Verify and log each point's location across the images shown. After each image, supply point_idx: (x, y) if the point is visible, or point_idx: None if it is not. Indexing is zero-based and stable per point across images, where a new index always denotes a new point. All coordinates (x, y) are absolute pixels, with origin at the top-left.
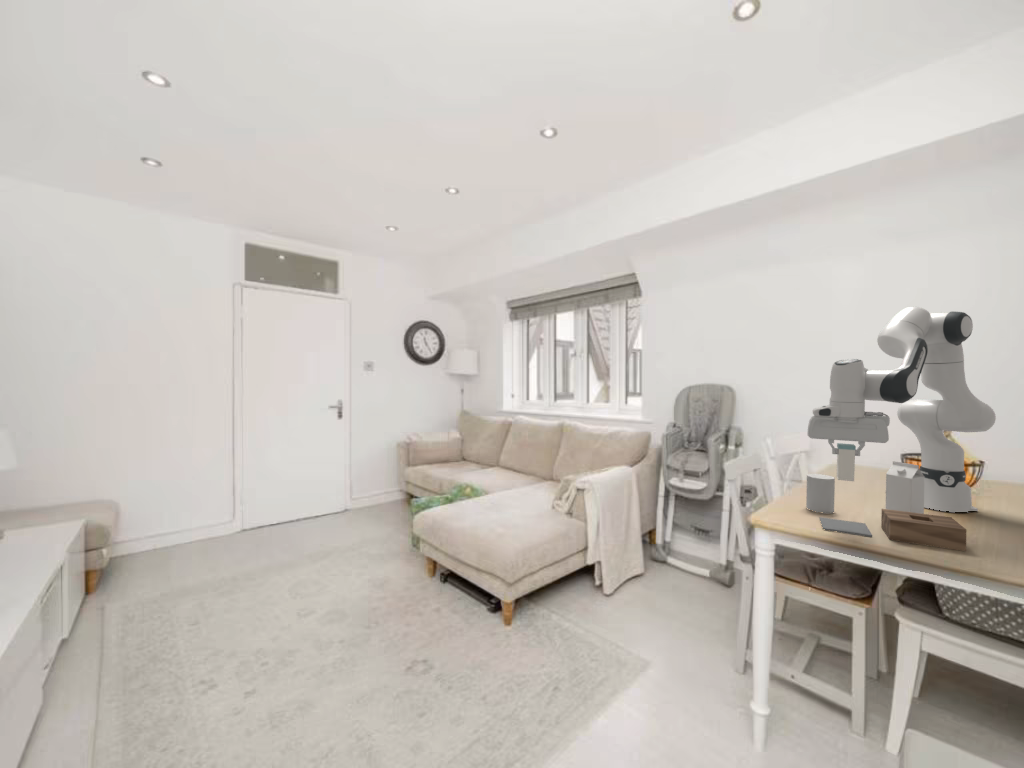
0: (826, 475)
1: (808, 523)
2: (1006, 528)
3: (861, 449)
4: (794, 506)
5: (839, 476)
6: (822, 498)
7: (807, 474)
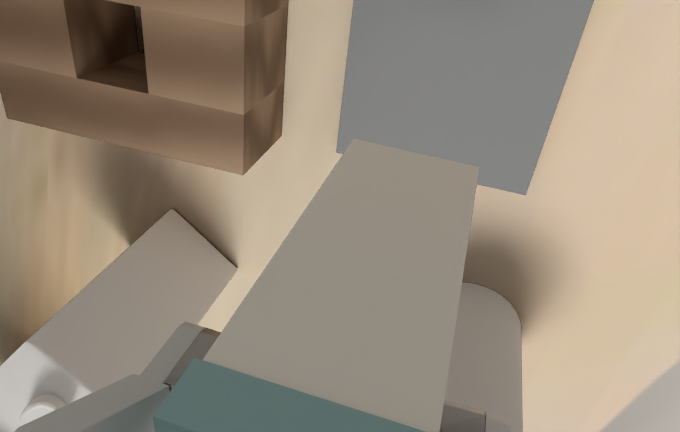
0: None
1: (632, 88)
2: None
3: (113, 385)
4: (569, 355)
5: (466, 179)
6: (466, 333)
7: None
